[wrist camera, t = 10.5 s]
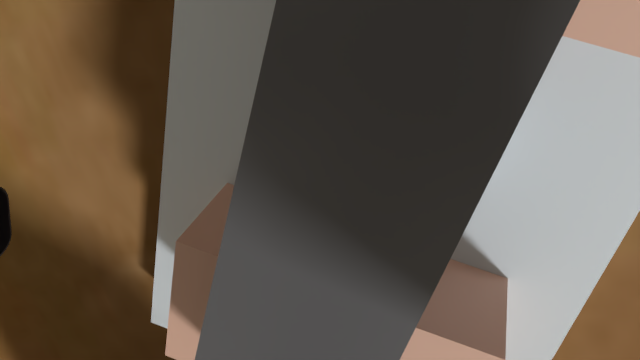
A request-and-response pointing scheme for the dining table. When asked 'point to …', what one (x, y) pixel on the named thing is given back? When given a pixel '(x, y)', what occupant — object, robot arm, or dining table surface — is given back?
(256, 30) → the display stand
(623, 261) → the dining table surface
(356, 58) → the frame bar
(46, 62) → the dining table surface
